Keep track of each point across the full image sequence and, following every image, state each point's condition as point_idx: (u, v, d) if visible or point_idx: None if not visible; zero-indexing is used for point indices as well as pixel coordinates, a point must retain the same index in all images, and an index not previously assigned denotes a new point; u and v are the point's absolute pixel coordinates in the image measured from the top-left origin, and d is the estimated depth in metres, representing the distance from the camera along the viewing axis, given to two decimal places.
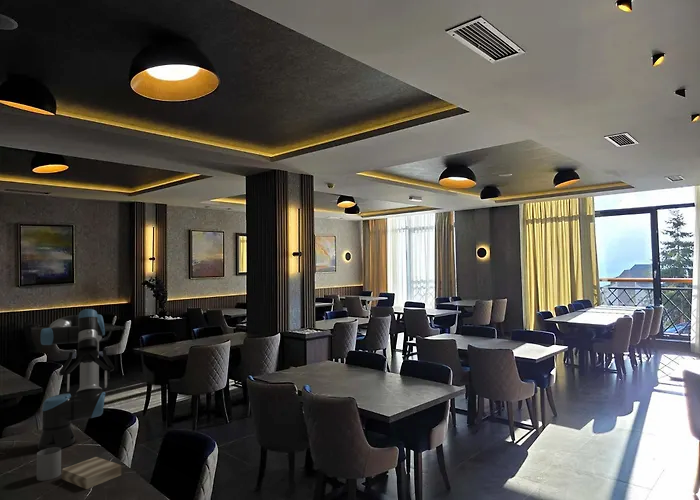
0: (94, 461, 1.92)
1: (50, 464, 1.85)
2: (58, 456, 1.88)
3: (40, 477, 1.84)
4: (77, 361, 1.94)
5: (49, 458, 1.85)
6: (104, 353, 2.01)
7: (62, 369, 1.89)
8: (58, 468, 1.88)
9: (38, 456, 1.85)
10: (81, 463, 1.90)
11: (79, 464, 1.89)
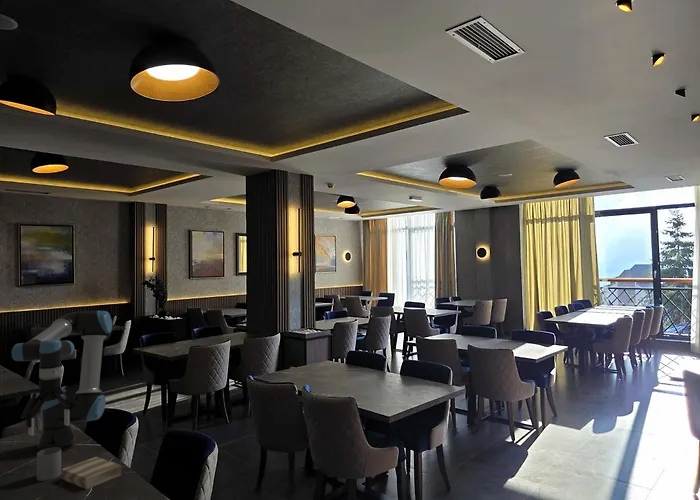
0: (94, 461, 1.92)
1: (50, 464, 1.85)
2: (58, 456, 1.88)
3: (40, 477, 1.84)
4: (41, 403, 1.86)
5: (49, 458, 1.85)
6: (67, 390, 1.95)
7: (26, 414, 1.81)
8: (58, 468, 1.88)
9: (38, 456, 1.85)
10: (81, 463, 1.90)
11: (79, 464, 1.89)
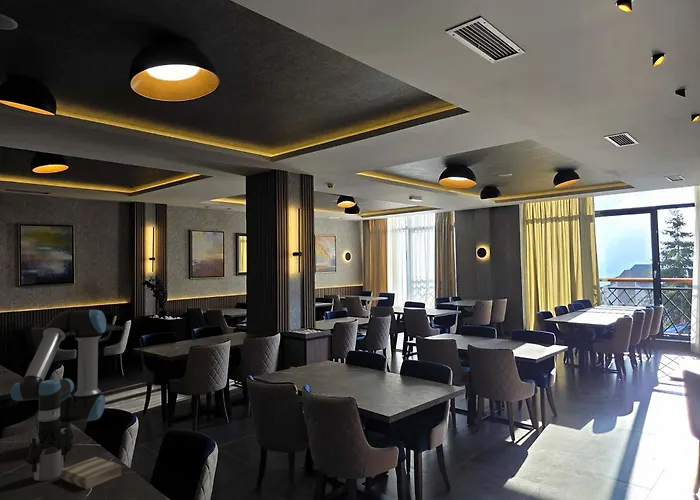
0: (94, 461, 1.92)
1: (50, 464, 1.85)
2: (58, 456, 1.88)
3: (40, 477, 1.84)
4: (43, 446, 1.86)
5: (49, 458, 1.85)
6: (66, 433, 1.93)
7: (31, 459, 1.82)
8: (58, 468, 1.88)
9: None
10: (81, 463, 1.90)
11: (79, 464, 1.89)
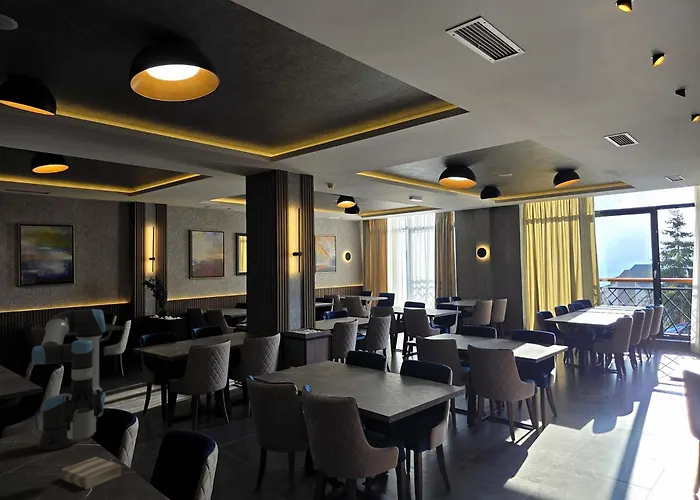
0: (94, 461, 1.92)
1: (83, 423, 1.84)
2: (91, 416, 1.87)
3: (73, 436, 1.83)
4: (76, 405, 1.85)
5: (82, 417, 1.84)
6: (98, 393, 1.92)
7: (65, 417, 1.81)
8: (91, 428, 1.87)
9: None
10: (81, 463, 1.90)
11: (79, 464, 1.89)
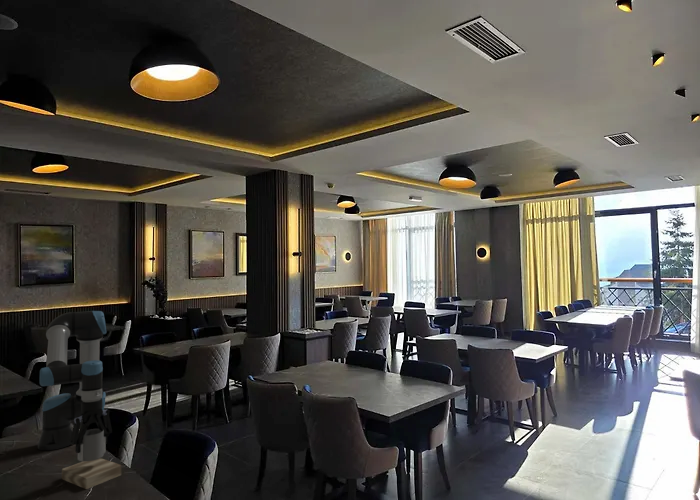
0: (94, 461, 1.92)
1: (94, 445, 1.84)
2: (101, 437, 1.87)
3: (84, 458, 1.82)
4: (86, 427, 1.84)
5: (92, 438, 1.84)
6: (107, 414, 1.92)
7: (75, 440, 1.80)
8: (101, 449, 1.86)
9: None
10: (81, 463, 1.90)
11: (79, 464, 1.89)
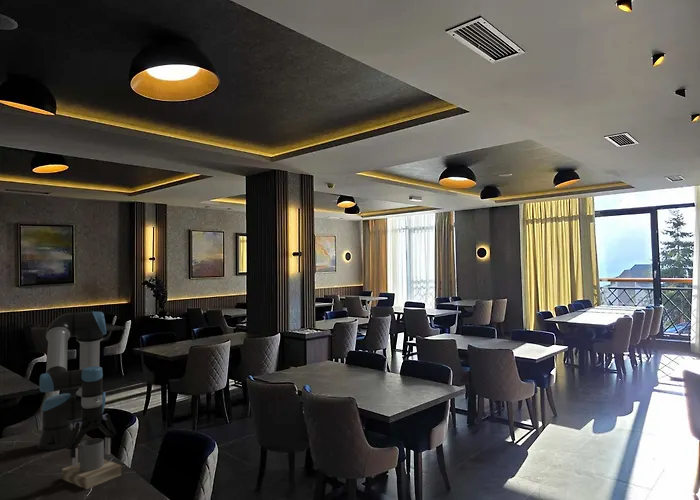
0: None
1: (94, 455, 1.84)
2: (101, 447, 1.86)
3: (84, 468, 1.82)
4: (84, 432, 1.83)
5: (92, 448, 1.84)
6: (108, 418, 1.92)
7: (70, 444, 1.79)
8: (101, 459, 1.86)
9: (82, 446, 1.83)
10: None
11: (79, 464, 1.89)
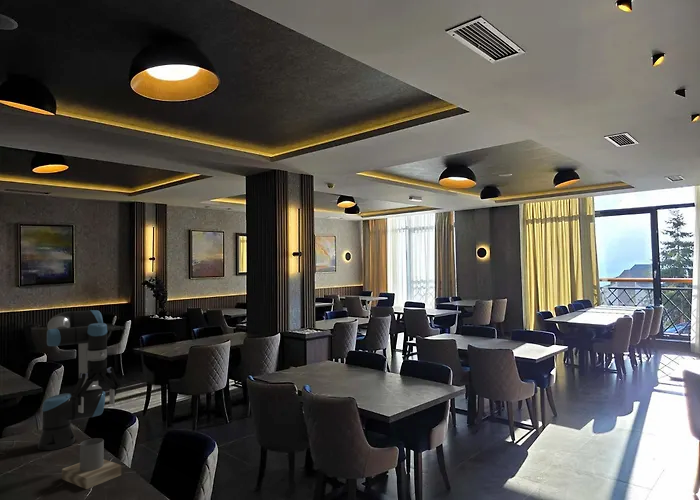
0: None
1: (94, 455, 1.84)
2: (101, 447, 1.86)
3: (84, 468, 1.82)
4: (89, 383, 1.97)
5: (92, 448, 1.83)
6: (112, 371, 2.06)
7: (77, 393, 1.92)
8: (101, 459, 1.86)
9: (82, 447, 1.83)
10: None
11: (79, 464, 1.89)
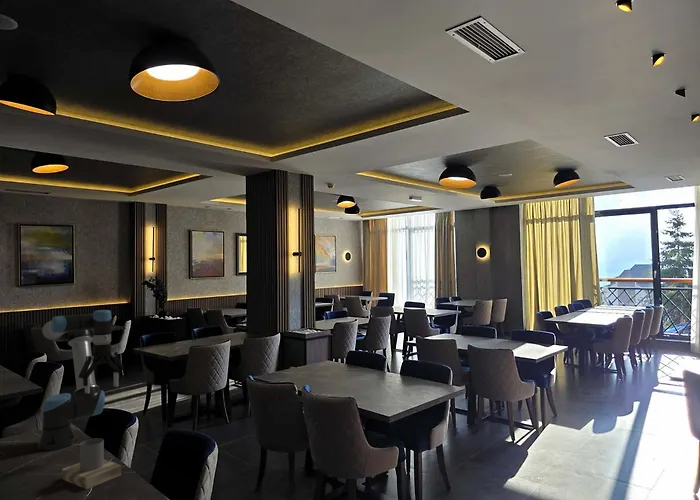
0: None
1: (94, 455, 1.84)
2: (101, 447, 1.86)
3: (84, 468, 1.82)
4: (95, 365, 2.10)
5: (92, 448, 1.83)
6: (116, 355, 2.19)
7: (83, 374, 2.06)
8: (101, 459, 1.86)
9: (82, 447, 1.83)
10: None
11: (79, 464, 1.89)
